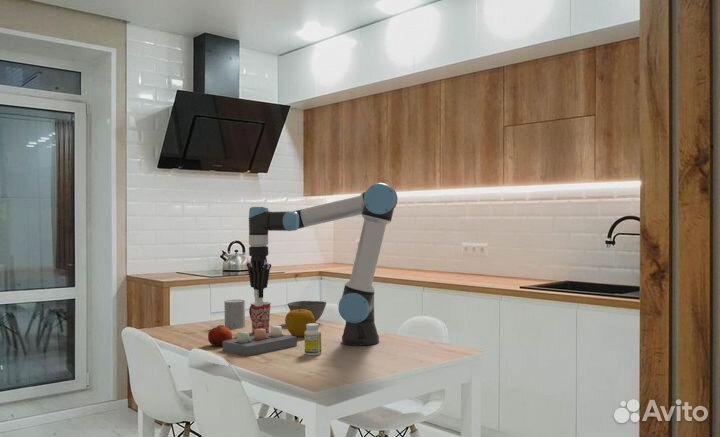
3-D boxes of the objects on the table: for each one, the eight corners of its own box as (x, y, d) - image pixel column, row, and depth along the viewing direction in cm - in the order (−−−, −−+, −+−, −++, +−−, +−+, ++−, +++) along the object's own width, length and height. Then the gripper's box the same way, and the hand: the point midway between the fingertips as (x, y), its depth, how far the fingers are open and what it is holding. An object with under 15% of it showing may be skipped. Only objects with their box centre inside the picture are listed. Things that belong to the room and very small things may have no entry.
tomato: (236, 343, 247) (235, 323, 247) (225, 348, 238) (224, 327, 238) (215, 342, 249) (215, 323, 249) (204, 347, 241) (203, 327, 241)
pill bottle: (312, 351, 230) (312, 322, 230) (324, 353, 226) (324, 323, 226) (301, 354, 225) (300, 324, 225) (313, 356, 221) (312, 326, 221)
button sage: (251, 342, 232) (251, 332, 232) (242, 344, 228) (241, 334, 228) (244, 341, 235) (244, 331, 235) (235, 343, 231) (235, 332, 231)
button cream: (283, 336, 243) (283, 326, 243) (275, 338, 240) (275, 328, 240) (276, 335, 246) (276, 325, 246) (268, 336, 243) (268, 326, 243)
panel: (296, 345, 241) (296, 336, 241) (247, 356, 223) (247, 346, 223) (271, 340, 252) (271, 332, 252) (222, 350, 234) (222, 341, 234)
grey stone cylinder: (220, 328, 283) (220, 302, 283) (230, 324, 292) (230, 299, 292) (239, 329, 280) (238, 302, 280) (248, 325, 289) (248, 299, 289)
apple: (280, 338, 257) (280, 311, 257) (291, 332, 270) (291, 306, 270) (309, 339, 254) (309, 311, 254) (319, 333, 267) (318, 307, 267)
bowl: (334, 321, 296) (334, 301, 296) (311, 328, 280) (311, 306, 280) (303, 319, 306) (303, 299, 306) (279, 324, 290) (279, 304, 290)
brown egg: (268, 339, 237) (268, 329, 237) (259, 341, 234) (258, 331, 234) (261, 338, 240) (261, 328, 240) (252, 339, 237) (252, 329, 237)
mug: (275, 333, 268) (274, 302, 269) (257, 335, 263) (257, 304, 263) (260, 329, 278) (259, 300, 278) (242, 332, 272) (242, 302, 272)
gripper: (276, 246, 236) (276, 306, 236) (256, 245, 245) (256, 303, 245) (261, 246, 230) (261, 308, 230) (240, 245, 239) (241, 305, 239)
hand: (258, 305), depth 237 cm, fingers closed
